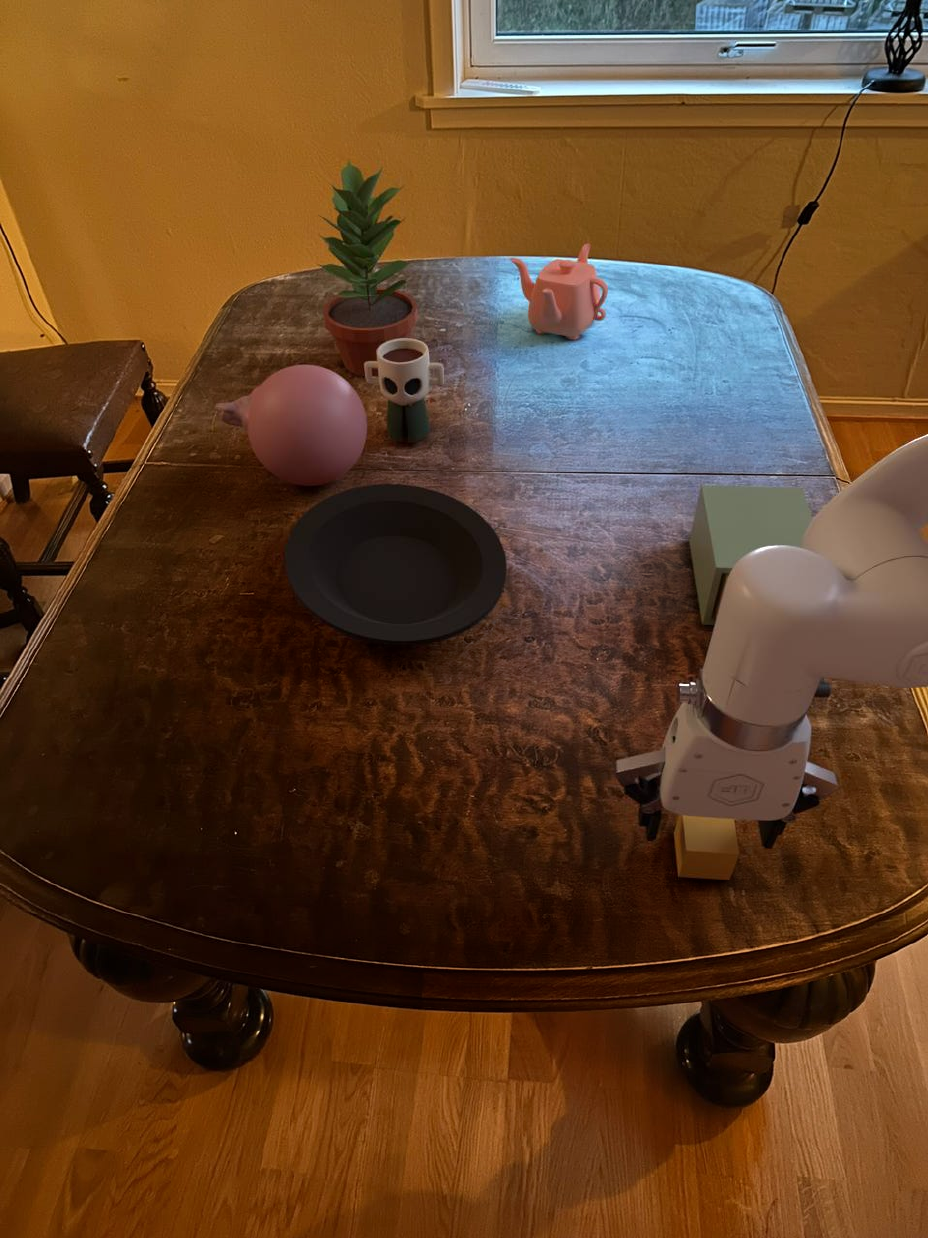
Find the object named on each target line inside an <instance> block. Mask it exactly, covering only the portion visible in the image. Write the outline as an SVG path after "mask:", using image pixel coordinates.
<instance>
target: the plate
mask: <svg viewBox="0 0 928 1238" xmlns="http://www.w3.org/2000/svg"><path fill="white" fill-rule="evenodd" d="M284 567H285V572H286V575H287V579H288V583H289V585H290V587H291V590H292V592H293V593H294V595H295V597H296V598H297V600H298V601H299V602H300V604H302V606H303V607H304V608H305V609H306V610H307V611H308V612H309V613H310V614H311V615H312V616H313V617H315V619H317V620H318V621H320V622H321V623H323V624H324V625H325V626H327V627H329V628H331V629H333V630H334V631H336V632H339V633H341V634H343V635H344V636H347V637H351V638H353V639H357V640H358V641H359V640H360V641H364V642H366V643H367V642H368V643H370V644H371V643H372V644H378V645H385V646H386V645H387V646H398V647H400V646H401V647H408V646H421V645H428V644H433V643H438V642H441V641H445V640H448V639H451V638H453V637H456V636H458V635H461V634H463V633H464V632H466V631H468V630H470V629H472V628H473V627H475V626H476V625H478V624H479V623H480V622H481V621H482V620H484V619H485V618H486V617H487V616H488V615H489V614H490V613H491V612H492V611H493V610H494V608H495V607H496V605H497V604H498V602H499V601H500V599H501V597H502V596H503V595H502V594H503V592H504V590H505V586H506V582H507V568H508V567H507V558H506V553H505V549H504V546H503V544H502V542H501V539H500V537H499V536H498V534H497V533H496V531H495V530H494V528H493V527H492V526H491V524H490V523H489V522H487V520H486V519H485V518H484V517H483V516H481V514H479V512H477V511H476V510H475V509H473V508H471V507H470V506H468V505H467V504H465V503H464V502H462V501H460V500H458V499H456V498H454V497H452V496H450V495H448V494H445V493H443V492H440V491H437V490H433V489H430V488H428V487H427V488H426V487H421V486H417V485H410V484H403V483H401V484H400V483H379V484H367V485H362V486H357V487H352V488H349V489H345V490H343V491H339V492H337V493H335V494H332V495H330V496H328V497H326V498H324V499H322V500H321V501H319V502H318V503H316V504H315V505H313V506H311V508H309V509H308V510H307V511H306V512H305V513H304V514H303V515H301V517H300V518H299V519H298V520H297V522H296V523H295V525H294V526H293V527H292V529H291V531H290V534H289V536H288V538H287V540H286V543H285V548H284Z"/></svg>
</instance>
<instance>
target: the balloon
mask: <svg viewBox="0 0 928 1238" xmlns="http://www.w3.org/2000/svg"><path fill="white" fill-rule="evenodd" d="M214 410H215V411H216V412H217V413H219V414H220V416H219V418H220V420H221V421H222V422H223V423H224V424H227V425H230V426H234V427H240V428H243V429H244V431H245V433H246V434H247V436H248V440H249V443H250V446H251V449H252V451H253V453H254V455H255V456H256V458H257V460H259V462H260V463H261V465H262V466H263V467H264V468H266V469H267V470H268V471H269V472H270V473H271V474H272V475H274V476H275V477H277V478H278V479H281V480H283V481H285V482H286V483H289V484H293V485H297V486H303V487H312V486H313V487H315V486H321V485H325V484H329V483H332V482H334V481H336V480H338V479H340V478H341V477H343V476H344V475H345V474H347V473H348V472H349V471H350V470H351V469H352V468H353V467H354V465H356V463H357V462H358V460H359V459H360V457H361V455H362V453H363V450H364V448H365V445H366V441H367V435H368V418H367V414H366V411H365V407H364V404H363V402H362V400H361V397H360V396H359V394H358V392H357V391H356V390H355V389H354V388H353V386H352V385H351V384H350V383H349V382H348V381H347V380H346V379H345V378H344V377H342V376H340V374H338V373H336V372H334V371H332V370H330V369H328V368H325V367H323V366H319V365H314V364H297V365H292V366H286V367H285V368H282V369H280V370H278V371H276V372H274V373H273V374H271V375H269V376H268V377H267V378H266V379H265V380H264V381H263V382H261V384H260V385H259V386H257V387H255V388H254V389H253V390H252V392H251V393H250V394H249V395H244V396H241V397H239V398H237V399H235V400H234V401H229V402H222V403H221V402H218V403H216V404H215V406H214Z"/></svg>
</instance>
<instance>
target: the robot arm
mask: <svg viewBox="0 0 928 1238" xmlns="http://www.w3.org/2000/svg"><path fill="white" fill-rule="evenodd" d="M812 519H813V520H812V521H811V522H810V524H809V526H808V528H807V530H806V531H805V533H804V536H803V539H802V544H801V548H799V547H794V546H785V545H774V546H766V547H762V548H758V549H756V550H754V551H751V552H750V553H748V554H746V555H745V556H743V557H742V558H741V559H740V560H739V561H738V562H737V563H736V564H735V566H734V567H733V569H732V570H731V572H730V574H729V577H728V580H727V583H726V586H725V589H724V593H723V597H722V601H721V604H720V608H719V612H718V615H717V619H716V623H715V625H713V626H714V627H713V630H712V633H711V638H710V640H709V641H710V642H709V645H708V648H707V653H706V657H705V660H704V664H703V668H700V669H699V671H698V676H697V678H696V679H695V680H694V681H691V682H688V683H678V684H677V688H676V698H677V699H676V701H677V703H681V704H680V706H679V707H678V709H677V711H676V713H675V715H674V717H673V719H672V721H671V723H670V725H669V727H668V730H667V732H666V735H665V738H664V740H663V743H662V746H661V749H658V750H654V751H649V752H645V753H640V754H637V755H632V756H627V757H624V758H619V759H617V760H615V761H614V764H613V765H614V777H615V778H616V780H617V782H618V783H619V784H620V786H621V787H623V789H624V794H625V795H626V796H627V797H629V798H630V799H632V800H633V801H635V802H636V803H637V804H639V805H638V814H637V815H638V817H637V819H638V826H639V827H645V836H646V837H645V838H646V842H654V841H656V840H657V836H658V833H659V829H660V826H661V822H662V817H663V816H662V815H663V814H662V813H663V812H662V809H665V810H666V811H667V812H670V813H673V814H675V815H678V816H679V815H686V816H697V817H711V818H726V819H734V820H743V821H744V820H746V821H757V825H758V831H759V836H760V841H761V847H763V848H764V849H765V850H772V849H774V845H775V843H776V841H777V839H778V837H779V836H782V835H783V833H784V830H785V828H786V826H787V825H788V823H793V822H795V821H797V819H798V817H797V814H800V813H803V812H806V811H808V810H812V809H814V808H816V807H818V806H819V805H820V804H821V801H820V800H822V799H823V800H824V799H826V798H828V797H829V796H831V795H833V794H834V793H835V792H837V791H838V790H839V789H840V784H839V781H838V777H837V773H835V772H834V771H832V770H829V769H826V768H824V767H821V766H819V765H817V764H815V763H812V762H810V761H809V760H808V759H809V754H810V747H811V739H812V726H811V722H810V719H809V717H808V715H807V713H808V710H809V708H810V706H811V703H812V701H813V699H814V697H813V696H814V694H815V692H816V689H817V687H818V684H819V682H820V680H821V678H823V677H824V678H825V679H834V680H841V681H848V682H854V683H861V684H868V685H874V686H880V687H889V688H899V689H900V688H901V689H916V688H917V689H919V688H928V541H927V540H926V538H925V537H924V535H922V533H921V532H920V530H922V529H923V528H924V527H926V526H927V525H928V434H925V435H923V436H921V437H918V438H915V439H914V440H912V441H910V442H909V441H908V443H906V444H904V445H902V446H900V447H898V448H897V449H895V450H894V451H892V452H890V453H889V454H888V455H886V456H884V457H883V458H882V459H881V460H879V461H878V462H877V463H875V464H874V465H873V466H872V467H870V468H869V469H868V470H866V471H865V472H863V473H862V474H861V475H860V476H859V477H857V478H856V479H854V480H853V481H852V482H850V483H849V484H847V486H845V487H844V488H843V489H842V490H841V491H839V492H838V493H837V494H836V495H835V496H833V497H832V499H830V500H829V501H828V502H827V503H826V504H825V505H824V506H823V507H822V508H821V509H820V510H819V511H818V512H817V514H816V515H815V516H814V517H812Z"/></svg>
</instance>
